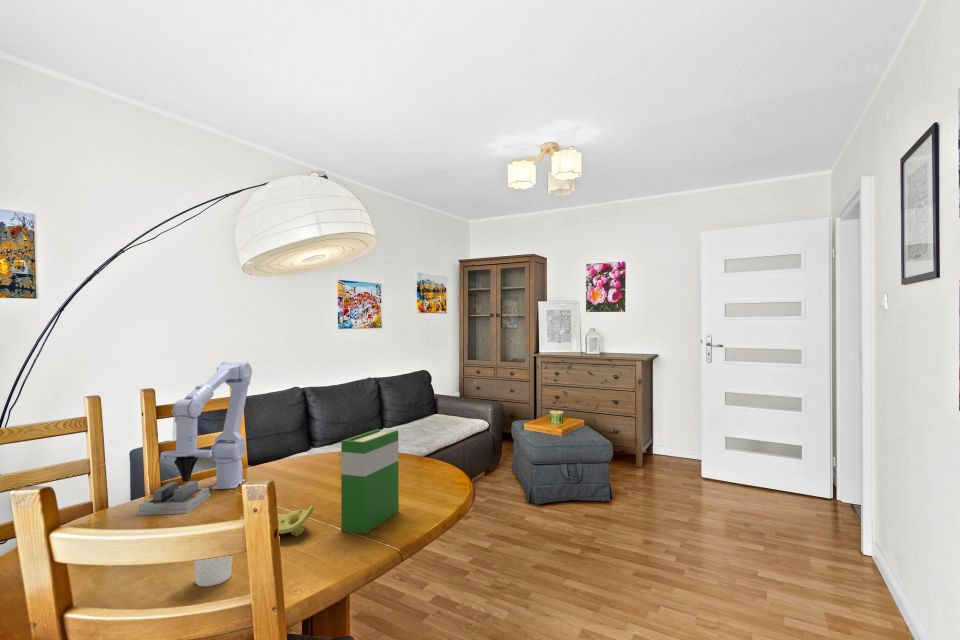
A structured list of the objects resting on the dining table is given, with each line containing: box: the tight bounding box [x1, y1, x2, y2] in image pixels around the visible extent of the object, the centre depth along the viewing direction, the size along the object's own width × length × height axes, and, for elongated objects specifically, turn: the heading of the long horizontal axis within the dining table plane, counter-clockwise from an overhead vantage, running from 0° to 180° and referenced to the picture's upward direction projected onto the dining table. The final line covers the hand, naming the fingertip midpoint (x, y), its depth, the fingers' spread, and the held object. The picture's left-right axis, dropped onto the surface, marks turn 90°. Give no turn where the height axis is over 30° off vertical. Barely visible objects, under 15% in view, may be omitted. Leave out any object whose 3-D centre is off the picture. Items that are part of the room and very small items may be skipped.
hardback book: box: [340, 428, 400, 535], centre depth 137 cm, size 18×7×24 cm, turn 159°
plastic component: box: [239, 505, 315, 537], centre depth 129 cm, size 20×7×10 cm
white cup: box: [193, 554, 234, 587], centre depth 104 cm, size 8×8×10 cm
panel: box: [174, 480, 199, 501], centre depth 152 cm, size 10×2×5 cm, turn 6°
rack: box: [136, 481, 212, 517], centre depth 151 cm, size 16×14×6 cm
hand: (186, 480), depth 152 cm, fingers closed
